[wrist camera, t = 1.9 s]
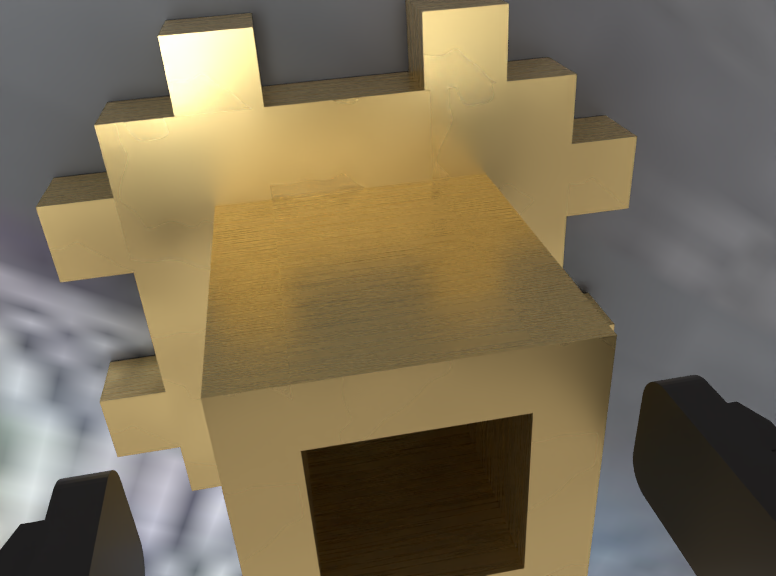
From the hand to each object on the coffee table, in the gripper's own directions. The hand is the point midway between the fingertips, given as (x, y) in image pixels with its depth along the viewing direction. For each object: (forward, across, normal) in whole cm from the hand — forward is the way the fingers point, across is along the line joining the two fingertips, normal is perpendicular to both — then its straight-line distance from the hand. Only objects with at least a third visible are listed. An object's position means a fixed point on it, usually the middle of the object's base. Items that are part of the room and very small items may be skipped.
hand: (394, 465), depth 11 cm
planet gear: (+7, 0, 0) cm, 7 cm away
